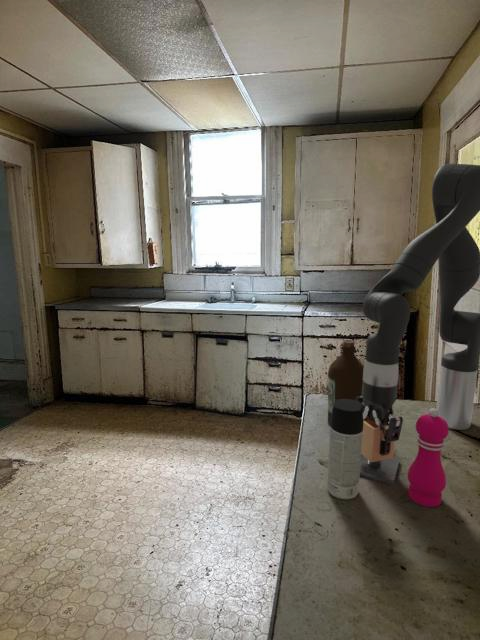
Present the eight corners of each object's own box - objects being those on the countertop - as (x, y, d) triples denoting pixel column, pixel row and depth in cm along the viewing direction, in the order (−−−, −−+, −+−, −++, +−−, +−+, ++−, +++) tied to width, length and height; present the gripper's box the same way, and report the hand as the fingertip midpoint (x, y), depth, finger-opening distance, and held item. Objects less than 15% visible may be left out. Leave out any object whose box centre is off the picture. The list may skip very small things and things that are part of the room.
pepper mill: (427, 513, 79) (438, 419, 74) (398, 492, 85) (406, 405, 81) (451, 502, 82) (462, 412, 78) (421, 483, 88) (430, 399, 84)
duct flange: (357, 452, 101) (359, 426, 99) (399, 462, 96) (401, 436, 95) (347, 472, 92) (349, 444, 91) (393, 484, 88) (395, 455, 86)
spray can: (359, 484, 88) (365, 400, 83) (357, 504, 81) (364, 413, 77) (328, 479, 90) (332, 395, 86) (324, 497, 83) (329, 408, 79)
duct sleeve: (376, 445, 97) (378, 414, 96) (393, 457, 92) (396, 425, 90) (355, 449, 95) (357, 418, 94) (371, 462, 90) (374, 429, 88)
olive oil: (358, 416, 121) (363, 337, 116) (366, 433, 111) (373, 346, 105) (323, 415, 122) (326, 336, 117) (328, 432, 111) (332, 346, 106)
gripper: (416, 388, 85) (409, 460, 88) (373, 368, 98) (368, 431, 101) (387, 393, 82) (381, 466, 85) (347, 371, 95) (343, 435, 99)
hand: (374, 447), depth 93 cm, fingers closed on duct sleeve, 6 cm apart
